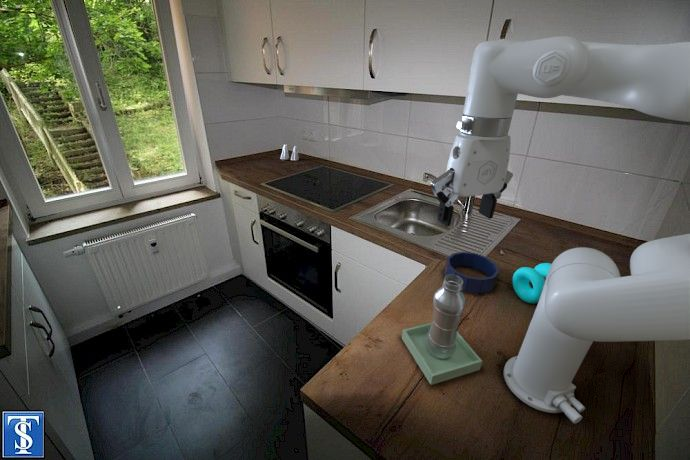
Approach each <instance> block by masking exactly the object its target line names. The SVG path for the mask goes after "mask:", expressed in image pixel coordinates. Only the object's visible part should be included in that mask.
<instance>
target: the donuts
mask: <svg viewBox="0 0 690 460" xmlns="http://www.w3.org/2000/svg"><path fill="white" fill-rule="evenodd" d="M551 264H552V263H550V262H541V263H539V264H537V265H536V266H535V267H534V268H532V267H530V266H525V267H524V266H522V267H519V268H518V269H517V270H515V272H514V273H513V276H512V287H513V290H514V292H515V294H516V295H517V296H518V297H519V298H520V299H521V300H522V301H523V302H525V303H527V304H532V305H533V304H538V302H539V299H540V296H541V293H542V290H543V287H544V284H545V281H546V279H545V278H546V277H547V274H548V271H549V269H550V266H551ZM530 283H531V284H532V287H531V285H530Z"/></svg>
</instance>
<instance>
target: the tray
mask: <svg viewBox="0 0 690 460" xmlns="http://www.w3.org/2000/svg"><path fill="white" fill-rule="evenodd" d="M431 324H432V322H429V323H424V324H421V325H416V326H412V327H407V328H404V329H402V332H401V340H402V341H403V344H405V347H406V348H407V349H408V351H409V353H410V354H411V356H412V357H413V359H414V361H415V363H416V364H417V365H418V367H419V369H420V370H421V373H422V374H423V375H424V377H425V379H426V380H427V381H428V383H429V385H430V386H434V385H436V384H440V383H442V382H445V381H449V380H452V379H455V378H458V377H461V376H465V375H468V374H472V373H474V372H478V371H480V370H481V368H482V364H483V360H482V358H480V357H479V355H478V354H477V353H476V351H475V350H474V349H473V348H472V347H471V346H470V344H469V343H468V342H467V341H466V340H465V339H464V337H463V335H461V334H460V332H459V331H457V334H456V350H455V352H454V354H453V355H452V356H451V357H449V358H446V359H440V358H437V357H435V356H433V355H432V354H431V353H430V351H429V350H428V348H427V345H426V337H427V334H428V332H429V330H430V327H431Z"/></svg>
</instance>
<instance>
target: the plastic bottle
mask: <svg viewBox="0 0 690 460" xmlns="http://www.w3.org/2000/svg"><path fill="white" fill-rule="evenodd" d="M462 288H463V280H462V278H461V277H459V276H457V275H453V274H449V275H446V276H445V275H444V278H443V282H442V286H440V288H438V289H436V291H435V293H434V294H433V299H432V304H433V305H432V307H433V309H432V310H433V311H432V319H431V323H432V324H431V327H430V330H429V332H428V334H427V337H426V345H427V348H428V350H429V351H430V353H431V354H432V355H433V356H435V357H437V358H440V359H446V358H449V357H451V356H452V355H453V354H454V352H455V350H456V334H457V332H458V327H459V324H460V321H461V318H462V316H463V313H464V311H465V310H466V309H465V308H466V306H467V303H466V297H465V295H464V294H463V292H462Z"/></svg>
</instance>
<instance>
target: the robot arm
mask: <svg viewBox="0 0 690 460" xmlns="http://www.w3.org/2000/svg"><path fill="white" fill-rule="evenodd" d="M470 65H471V66H470V70H469V71H470V72H469V77H468V82H467V88H466V93H465V99H464V105H463V112H462V116H461V120H458V121H457V123H456V129H457V130H458V131H459V134H456V136H455V139H454V141H453V143H452V146H451V150H450V153H449V157H448V160H447V164H446V168H445V172H443V173H442V174H441V175H439V176H437V177H436V178H434V179H433V180H431V181H430V188H431V191H432V195H433V196H434V198H435V199H436V200H437V201H438V202H439V205H438V210H437V211H438V212H437V221H438V222H440V223H441V224H443V225H444V226H445V227H450V226H451V225H452V219H453V214H454V209H455V208H454V206H453V204H454V203H455V201H456V200H457V199H458V198H459V197H461V198H469V197H477V196H481V200H480V202H479V203H480V204H479V208H478V213H479V214H480V215H481V216H483V217H485V218H487V219H489V220H490V219H493V217H494V214H495V209H496V206H497V203H498V200H499V199H500V198H501V197H502V193H503V192H504V191H505V190H506V189H507V188H508V185H509V183H510V182H511V180H512V178H513V177H514V173H513V172H511V171H510V170H508V169H509V164H510V163H509V162H510V155H511V144H512V143H511V142H512V141H511V136H510V135H509V131H510V127H511V123H512V119H513V116H514V111H515V107H516V104H517V99H518V95H524V96H527V97H528V96H529V97H533V98H537V99H554V98H557V97H560V96H566V97H572V98H580V99H588V100H594V101H600V102H606V103H610V104H616V105H619V106H623V107H627V108H630V109H633V110H635V111H637V112H640V113H643V114H646V115H648V116H653V117H657V118H661V119H666V120H671V121H679V122H686V123H690V41H680V42H672V43H662V44H625V43H624V44H623V43H609V42H594V41H583V40H579V39H577V38H575V37H573V36H568V35H557V36H550V37H544V38H538V39H531V40H517V39H494V40H493V39H492V40H491V39H490V40H484V41H481V42H480V43H478V44H477V46H476V47H475V48H474V51H473V54H472V61H471V64H470ZM443 186H444V189H443ZM550 264H551V266H550V269H549V271H548V274H547V277H545V284H544V287H543V290H542V293H541V296H540V299H539V302H538V303H537V305H536V307H535V310H534V313H533V316H532V317H531V320H530V323H529V324H530V325H529V324H528V326H529V328H528V327H527V328H528V329H527V331H526V334H525V336H524V339H523V341H522V344H521V346H520V349H519V352H518V355H516V356H515V355H514V356H512V357H511V358H509V359H507V361H506V363H505V365H504V367H503V378H504V381H505V383H506V385H507V387H508V388H509V390H510V391H511V392H512V393H513V394H514V395H515V396H516V397H517V398H518V399H519V400H520V401H522V402H523V403H524V404H525V405H527V406H529V407H531V408H534V409H535V410H538V411H541V412H544V413H549V414H560V413H563V414H564V415H565V416H566V417H567V418H568V419H569V421H571V422H572V423H573V424H578V423H579V422H580V421H582V420H583V416H582V415H581V414H580V413H582V412H584V411H585V410H586V407H585V406H584V405H583V404H582V403H581V402H580V401H579V400H578V399H576V397H575V390H576V389H577V386H576V385H575V384H574V383H572V382H573V380H574V378H575V376H576V375H577V372H578V370H579V369H580V366H581V365H582V363H583V361H584V360H585V357H586V355H587V353H588V352H589V350H590V348H591V346H592V345H593V342H597V343H599V342H601V343H602V342H603V343H607V342H608V343H610V342H611V343H615V342H616V343H617V342H665V341H666V342H667V341H668V342H669V341H690V233H685V234H679V235H673V236H667V237H662V238H658V239H653V240H649V241H647V242H644V243H642V244H640V245H639V246H637V248H635V249H634V250H633V252H632V254H631V256H630V259H629V270H630V275H625V276H621V273H620V271H619V268H618V265H616V263H615V262H614V260H613V259H612V258H611V257H610V256H609V255H607V254H605V253H604V252H603V251H601V250H598V249H595V248H592V247H584V246H583V247H581V246H580V247H574V248H570V249H567V250H564V251H563V252H561V253H560V254H559V255H558V256H556V258H554V260H553V261H552V262H551V263H550Z"/></svg>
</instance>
